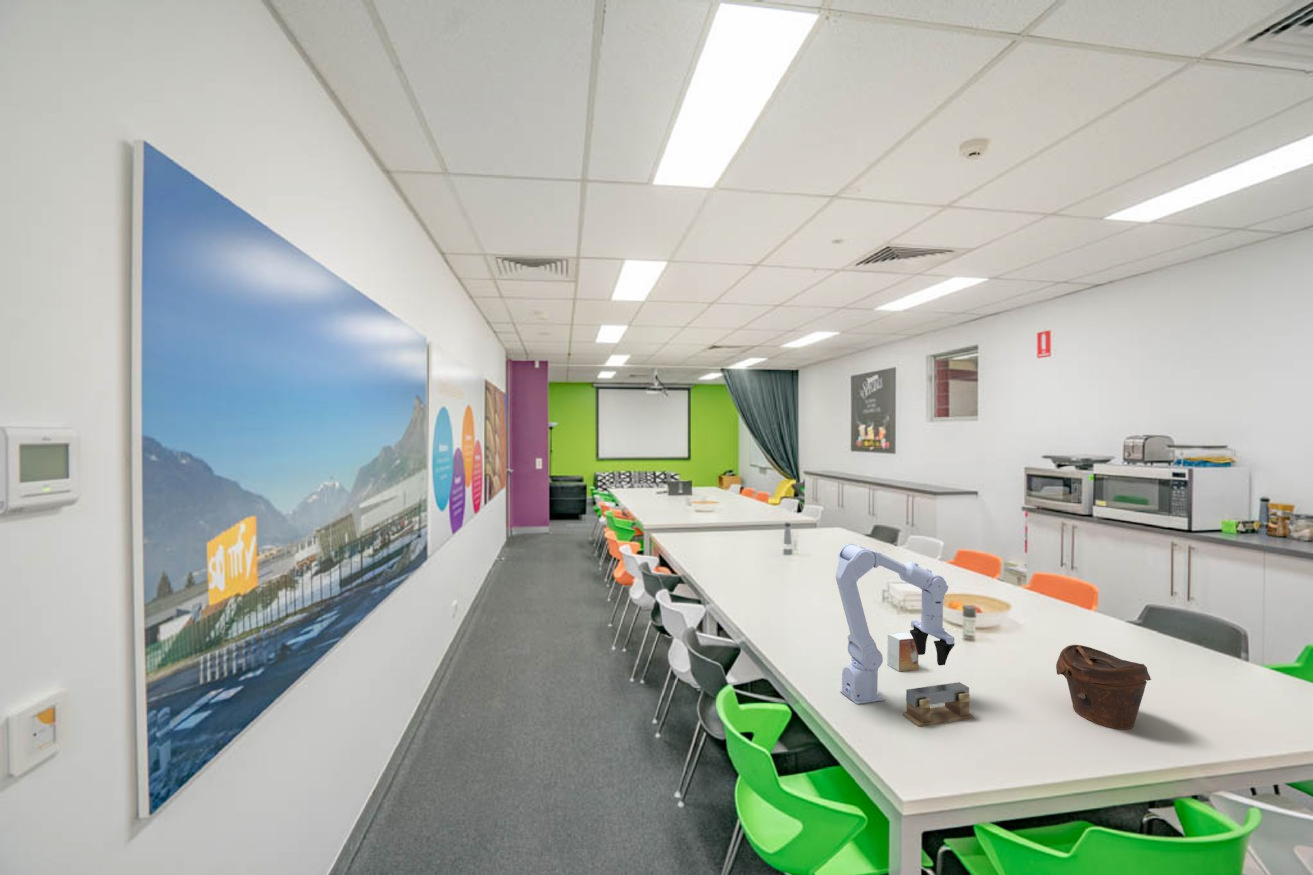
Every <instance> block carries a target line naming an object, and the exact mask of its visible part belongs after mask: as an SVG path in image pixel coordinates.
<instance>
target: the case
mask: <svg viewBox="0 0 1313 875" xmlns="http://www.w3.org/2000/svg"><path fill="white" fill-rule="evenodd" d="M1055 668H1056V675H1058V676H1059V675H1062V676H1064V678H1065V679H1066V681H1067V685H1068V690H1069V695H1070V699H1071V703H1072V708H1073V710H1074V711H1075V713H1077V714H1078V715H1079V716H1081V717H1083V718H1084V719H1086V720H1087V721H1090V722H1093V723H1095V724H1098V725H1101V726H1104V727H1107V728H1112V729H1119V730H1127V729H1132V728H1133V727H1134V726H1135V723H1136V720H1137V717H1138V713H1139V711H1140V707H1141V704H1142V703H1141V702H1142V699H1143V696H1144V693H1145V688H1146V686H1147V683H1148V681H1151V680H1152V678H1151V676H1150V673H1149V671H1148V668H1147V665H1145V664H1144V663H1139V662H1133V661H1129V660H1126V659H1121V658H1119V657H1116V656H1115V655H1112V654H1110V653H1108V652H1105V651H1102V650H1099V649H1096V648H1092V647H1089V646H1086V645H1082V644H1070V645H1067V646H1065V647H1064V648H1063V649H1062V650H1061V651H1060V653H1059V656H1058V658H1057V661H1056V664H1055Z"/></svg>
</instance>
